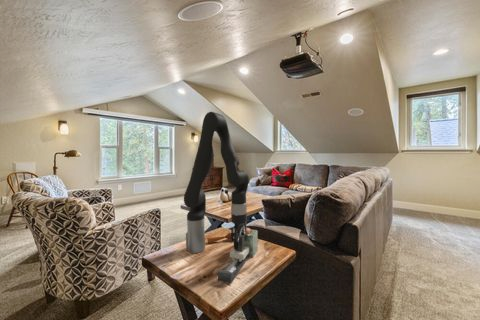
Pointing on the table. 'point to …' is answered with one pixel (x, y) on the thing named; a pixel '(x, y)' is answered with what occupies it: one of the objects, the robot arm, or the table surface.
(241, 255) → the carriage
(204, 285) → the table surface
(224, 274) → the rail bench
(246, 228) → the button
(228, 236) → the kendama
